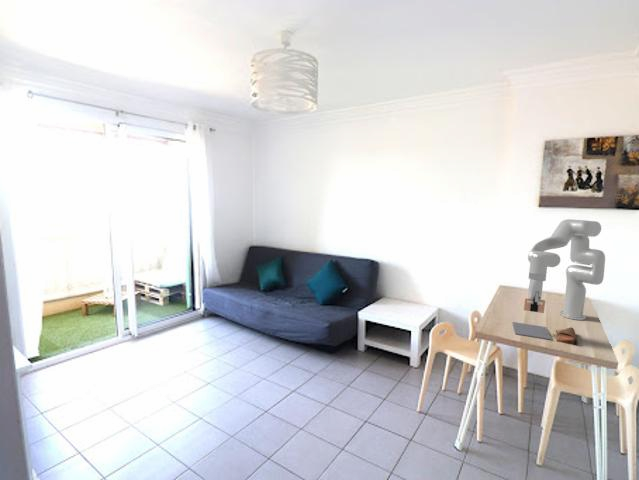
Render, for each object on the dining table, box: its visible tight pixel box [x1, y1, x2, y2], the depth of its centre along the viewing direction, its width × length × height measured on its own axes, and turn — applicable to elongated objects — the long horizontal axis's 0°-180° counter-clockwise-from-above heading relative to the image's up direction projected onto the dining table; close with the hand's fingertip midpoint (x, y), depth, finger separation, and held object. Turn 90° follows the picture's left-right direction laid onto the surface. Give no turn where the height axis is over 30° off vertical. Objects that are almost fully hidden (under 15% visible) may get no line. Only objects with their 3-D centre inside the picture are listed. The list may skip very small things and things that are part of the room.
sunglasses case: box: [555, 326, 578, 346], centre depth 171 cm, size 18×7×7 cm
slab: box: [522, 297, 546, 314], centre depth 176 cm, size 2×9×6 cm, turn 65°
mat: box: [511, 321, 553, 341], centre depth 178 cm, size 18×16×1 cm
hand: (533, 310), depth 176 cm, fingers closed on slab, 1 cm apart
